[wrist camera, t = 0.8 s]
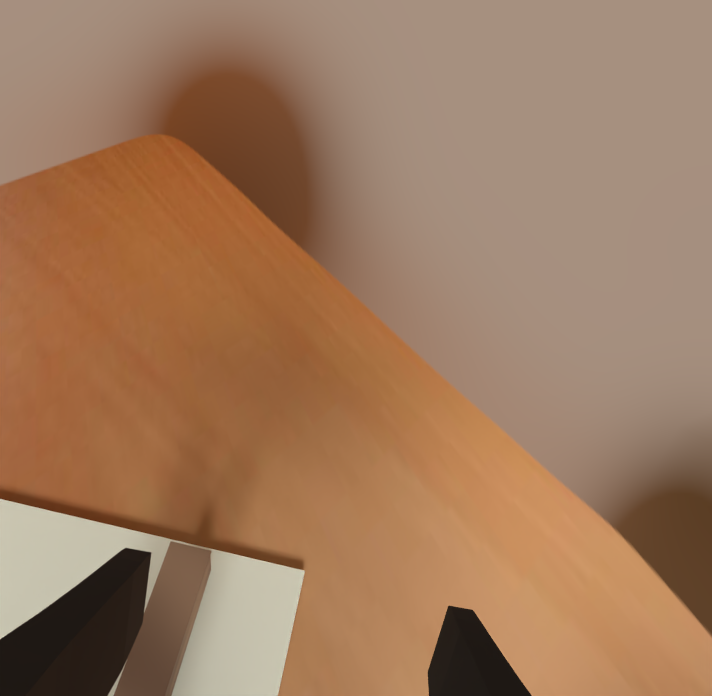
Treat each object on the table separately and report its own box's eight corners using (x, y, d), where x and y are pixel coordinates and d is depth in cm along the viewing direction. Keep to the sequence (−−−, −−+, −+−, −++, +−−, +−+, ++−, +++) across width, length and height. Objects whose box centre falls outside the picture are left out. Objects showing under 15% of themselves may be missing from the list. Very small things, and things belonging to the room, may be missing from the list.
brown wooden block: (125, 846, 20) (98, 901, 15) (81, 838, 19) (40, 892, 15) (212, 569, 25) (211, 550, 21) (178, 562, 25) (170, 541, 21)
